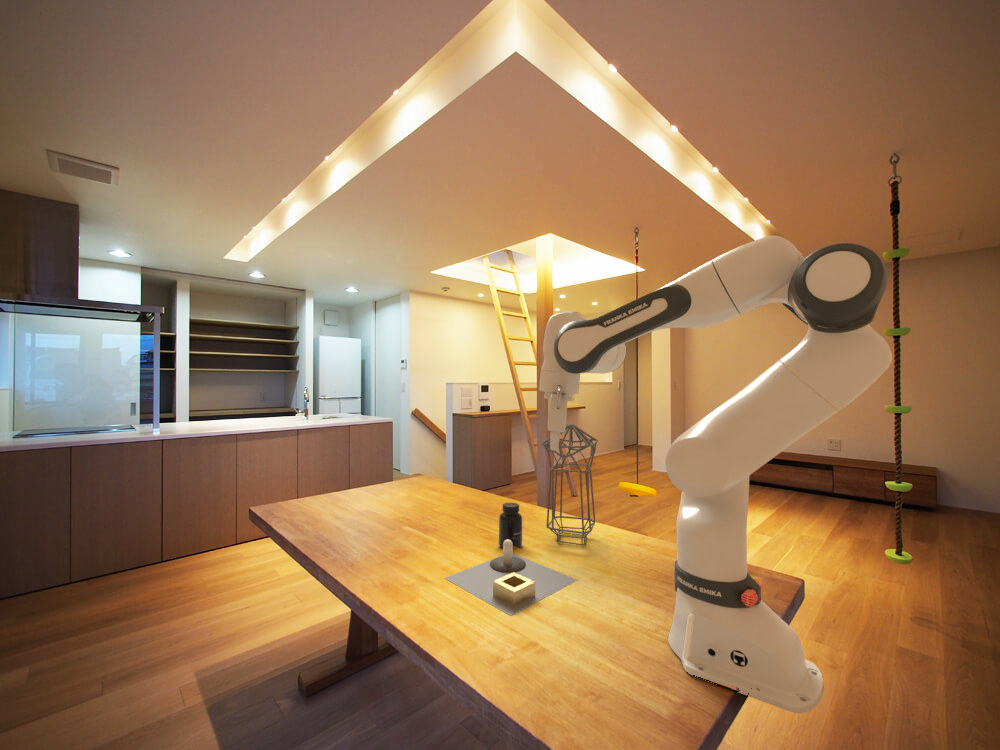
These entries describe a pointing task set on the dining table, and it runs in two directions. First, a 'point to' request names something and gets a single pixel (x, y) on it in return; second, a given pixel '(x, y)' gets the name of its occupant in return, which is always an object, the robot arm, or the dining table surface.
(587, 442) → the geometric lantern
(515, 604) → the wooden collar
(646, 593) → the dining table surface
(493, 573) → the post board
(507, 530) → the supplement bottle
